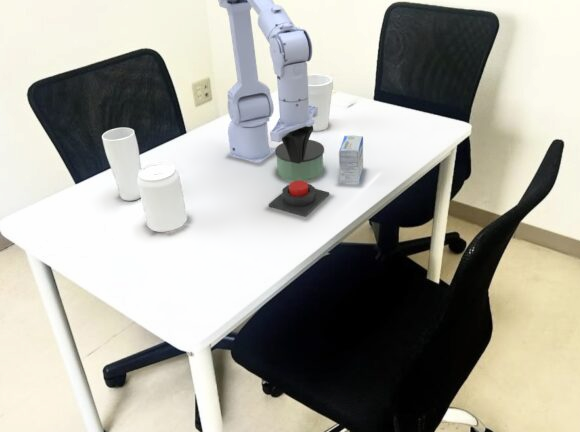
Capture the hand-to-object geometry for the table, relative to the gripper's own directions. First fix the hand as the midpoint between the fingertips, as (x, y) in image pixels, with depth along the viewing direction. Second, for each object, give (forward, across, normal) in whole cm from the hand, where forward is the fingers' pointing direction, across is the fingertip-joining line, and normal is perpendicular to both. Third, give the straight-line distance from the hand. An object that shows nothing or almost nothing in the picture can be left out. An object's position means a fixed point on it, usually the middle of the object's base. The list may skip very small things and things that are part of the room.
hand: (297, 161), depth 113 cm
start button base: (+10, 0, 0) cm, 10 cm away
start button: (+7, 0, 0) cm, 7 cm away
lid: (+4, +12, +7) cm, 15 cm away
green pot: (+10, +12, +7) cm, 17 cm away
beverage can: (+10, -19, +20) cm, 29 cm away
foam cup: (+10, +37, +17) cm, 42 cm away
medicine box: (+10, +15, -5) cm, 19 cm away
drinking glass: (+10, -14, +35) cm, 39 cm away
